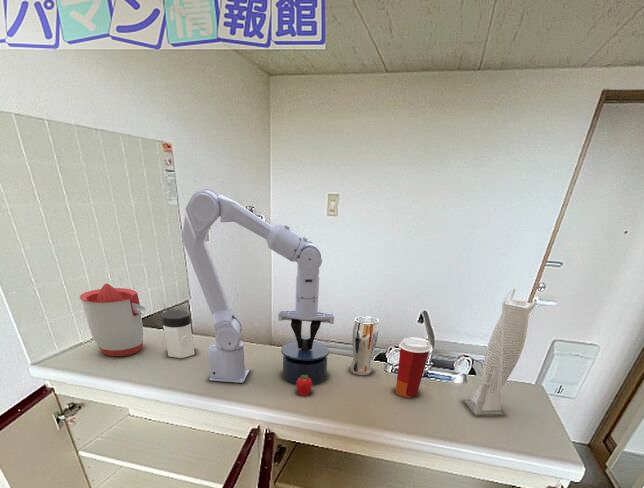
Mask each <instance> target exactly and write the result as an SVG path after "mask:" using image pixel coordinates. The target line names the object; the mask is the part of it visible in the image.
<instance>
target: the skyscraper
mask: <svg viewBox="0 0 644 488" xmlns="http://www.w3.org/2000/svg"><path fill="white" fill-rule="evenodd" d="M515 293H516V288H515V287H514V288H512V289H510V290H509V291H508V292H507V294H506V295H505V297H504V298H503V301H502V303H501V314H500V316H499V318H498V319H497V322H496V324H495V326H494V328H493V330H492V333H491V335H490V337H489V340H488V344H487V347H486V351H485V354H484V360H483V365H482V372H481V378H480V379H481V380H480V386H479V387H478V388H477V390H476V392H475V394H474V395H473V397H472V398H471V400H464V401H463V403H464V404H465V405H466V407H467V408H468V409H469V410H470V412H472V413H473V415H474V416H475V417H487V416H489V417H490V416H491V417H493V416H495V417H496V416H498V417H499V416H504V412H502V411H501V406H502V405H501V404H502V387H503V386H504V385H505V384H506V382H507V381H508V379H509V378H510V376H511V375H512V373H513V371H514V369H515V367H516V366H517V364H518V362H519V359H520V358H521V355H522V352H523V350H524V346H525V342H526V338H527V334H528V326H529V317H530V313H531V312H532V311H533V310H534V308H535V307H536V305H537V301H536V300H534V301H532V302H528V300H527V299H526V298H522V297H514V295H515ZM509 296H510V298H509ZM508 298H509V300H508Z"/></svg>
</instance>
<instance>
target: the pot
mask: <svg viewBox="0 0 644 488" xmlns="http://www.w3.org/2000/svg"><path fill="white" fill-rule="evenodd" d="M327 368H328V356H326V357H325V358H322V359H319V360H312V361H302V360H295V359H291V358H288V357H286V356H284V355H283V354H282V377H283V379H284V380H285V381H286V382H288V383H291V384H293V385H296V382H297V380H298V378H299V377H301V375H308V377H309V378H310V379H311V380H312V386H313V385H317V384H320V383H322V382H324V381H325V380H326V379H327V370H328V369H327Z"/></svg>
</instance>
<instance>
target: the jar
mask: <svg viewBox="0 0 644 488" xmlns="http://www.w3.org/2000/svg"><path fill="white" fill-rule="evenodd" d="M161 321H162V325H163V326H162V329H163V333H164V339H165V346H166V350H167V356H168V357H170V358H176V359H184V358H188V357H191V356H194V355H195V346H194V338H193V330H192V321H191V315H190V312H188V311H184V310H169V311H165V312H163V313H162V314H161Z"/></svg>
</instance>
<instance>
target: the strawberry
mask: <svg viewBox="0 0 644 488" xmlns="http://www.w3.org/2000/svg"><path fill="white" fill-rule="evenodd" d="M295 386H296V389H297V394H298V395H300V396H310V394H311V391H312V390H311V389H312V387H313V385H312V380H311V379H310V378H309V377H308V375H301V377H299V378H298V380H297V382H296V384H295Z"/></svg>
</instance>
